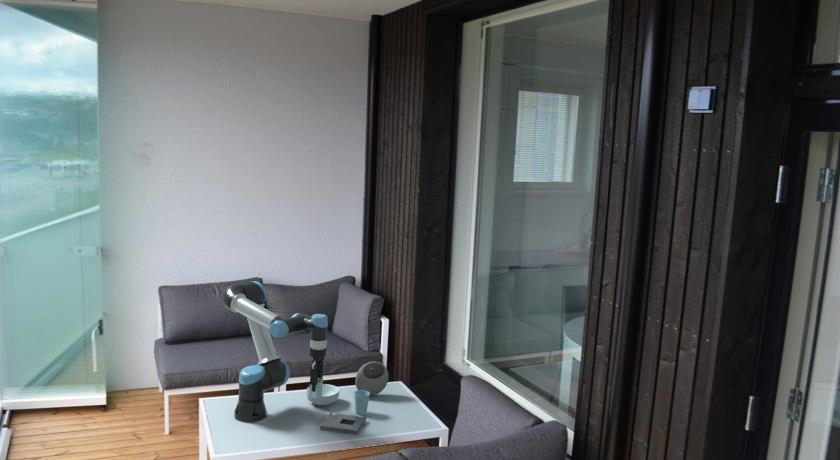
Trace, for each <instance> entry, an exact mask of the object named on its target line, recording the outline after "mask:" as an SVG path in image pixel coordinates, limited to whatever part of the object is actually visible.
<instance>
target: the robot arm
mask: <svg viewBox="0 0 840 460" xmlns="http://www.w3.org/2000/svg"><path fill="white" fill-rule="evenodd" d="M267 296H268V295H267V290H266V288H265V286H264V285H263V284H262V283H261V282H260V281H255V280H254V281H246V282H241V283H234V284H230V285H229V286H227V287H226V288H225V289H224V290H223V292H222V296H221V300H222V303H223V305H224V306H225V308H226V309H228V310H229V311H231V312H233V313H237V314H238V313H239V314H240V315H243V316H244V317H246V318H247V319H246V320H247V322H248V326H249V330H250V333H251V337H252V341H253V344H254V346H255V347H254V348H255V351H256V353H257V357H258V362H257V364H254V365H251V364H250V365H248V366H245V367H244V368H242V369H241V370H240V371H239V377H238V401H237V403H236V405H235V406H236V407H235V409H234V414H233V415H234V416H233V417H234V419H236V420H237V421H240V422H245V423H246V422H249V423H252V422H253V423H254V422H258V421H259V422H260V421H262V420H264V419H265V418H266V417H267V413H268V411H267V406H266V404H265V401H264V397H265V392H267V391H271V390H273V389H276V388H279V387H281V386H283V385H285V384H286V383H287V382H288V381H289V378H290V372H291V371H290V367H289V365H288V364H287V363H286V362H285V361H284V360H282V359H281V356H280V355H278V354H277V353H276V352H277V351H276V349H275V345H274V343H273V339H272V337H273V338H277V339H278V338H284V337H288V336H291V335H294V334H297V333H298V334H299V333H302V332H304V333H308V334H310V337H309V338H310V341H309V347H310V348H309V356H310V357H311V358H313V359H312V361H311V364H310V366H309V368H310V372H309V373H310V374H309V375H310V376H309V385H310V384H311V385H312V386H311V398H317V387H318V384H317V379H318V377H319V378H324V363H325V357H326V356H327V344H328V342H329V341H327V340H328V339H327V337H328V336H327V335H328V328H329V327H328V326H329V322H328V318H329V317H328V316H327V315H326V314H323V313H322V314H321V313H314V314H312V315H311V316H310V315H307V314H304V313H298V312H296V313H294V314H293V315H291V317H289V318H284V317H282V316H280V315H278V314H276V313H275V312H272V311H271V310H269V309H267V308H265V305H266V304H265V301H266V299H267Z"/></svg>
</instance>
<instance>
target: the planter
mask: <svg viewBox="0 0 840 460" xmlns="http://www.w3.org/2000/svg"><path fill="white" fill-rule="evenodd" d="M354 380H355V387H356V389H357V390H356V391H358V390H364V391H368V392H369V393H370V396H369V397H373V396H376V395H378V394H380V393H382V392H383V391H384V390H385V388H386V387H387V385H388V381H389V371H388V369H387V367H386V365H384V364H383V363H382V362H379V361H369V362H367V363H365V364H363V365H362V366H361V367H360V368H359V369H358V370H357V373H356V375H355V379H354Z"/></svg>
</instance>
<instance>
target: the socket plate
mask: <svg viewBox="0 0 840 460" xmlns="http://www.w3.org/2000/svg"><path fill="white" fill-rule="evenodd" d="M366 422H367V417H366V416H360V415H350V414H345V413H338V412H329V414H328V415H327V416H326V417H325V419H324V420H323V421H322V422H321V424H320V425H319V430H320V431H327V432H334V433H341V434H350V435H355V436H357V435H358V434H359V432H361V429H362V428H363V426H364V425H365V423H366Z"/></svg>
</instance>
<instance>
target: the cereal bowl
mask: <svg viewBox="0 0 840 460" xmlns="http://www.w3.org/2000/svg"><path fill="white" fill-rule="evenodd" d="M309 389H310V386H308V387H307V388H306V390H305V391H306V392H305V393H306V394H305V395H306V399H307V400H308V401H309V402H310V403H312V404H314V405H317V406H320V407H323V406H324V407H326V406H329V405H330V404H333V403H335V402H336V401H337V400H338V398H339V396H340V388H339V387H338V386H337V385H333V384H327V383H325V384H324V383H323V388H322V397H321V398H320V399H313V398H309Z"/></svg>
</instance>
